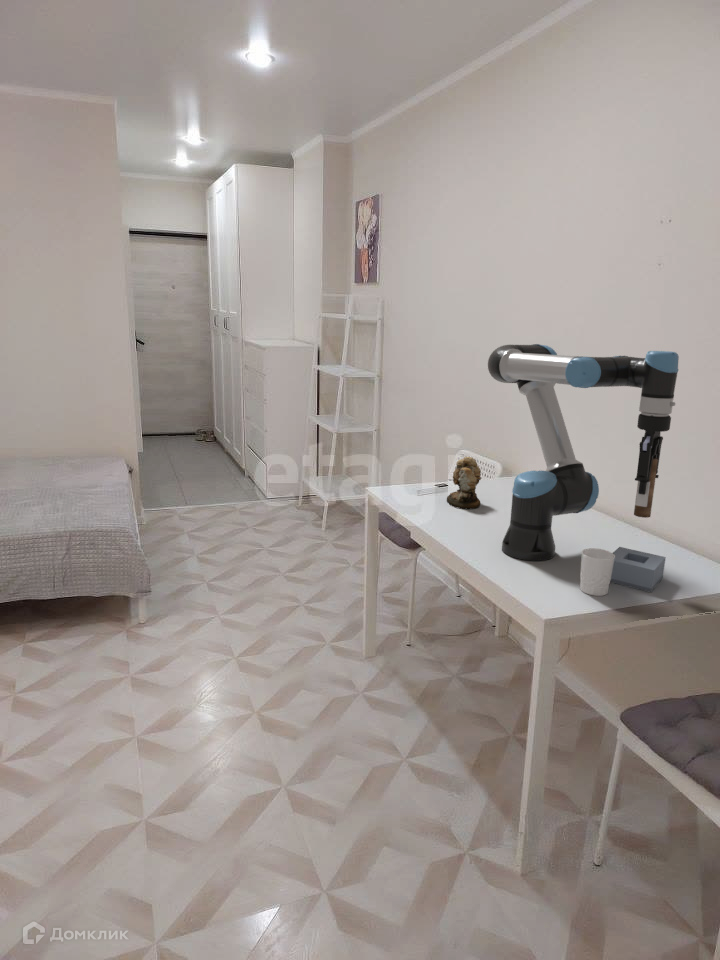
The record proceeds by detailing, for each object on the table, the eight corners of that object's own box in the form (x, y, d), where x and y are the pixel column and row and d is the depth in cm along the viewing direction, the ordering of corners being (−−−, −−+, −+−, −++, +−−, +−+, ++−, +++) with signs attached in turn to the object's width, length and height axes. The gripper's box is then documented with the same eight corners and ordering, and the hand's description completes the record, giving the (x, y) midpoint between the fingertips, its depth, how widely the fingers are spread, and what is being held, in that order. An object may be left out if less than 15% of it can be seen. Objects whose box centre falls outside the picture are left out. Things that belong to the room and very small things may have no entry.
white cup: (609, 599, 166) (614, 561, 163) (576, 593, 168) (580, 556, 166) (610, 587, 173) (615, 551, 170) (578, 582, 175) (582, 546, 173)
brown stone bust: (441, 495, 252) (444, 451, 248) (472, 495, 254) (475, 451, 249) (452, 509, 235) (455, 462, 231) (485, 509, 236) (489, 462, 232)
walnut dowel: (631, 515, 174) (639, 458, 170) (636, 512, 177) (643, 456, 173) (648, 518, 171) (655, 461, 168) (652, 515, 175) (659, 458, 171)
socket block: (603, 580, 177) (606, 558, 176) (616, 567, 187) (619, 546, 185) (651, 592, 170) (654, 570, 169) (662, 578, 180) (665, 557, 178)
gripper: (662, 419, 159) (650, 514, 165) (678, 412, 172) (666, 499, 178) (630, 416, 163) (619, 508, 169) (648, 409, 177) (637, 494, 182)
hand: (643, 503), depth 173 cm, fingers closed on walnut dowel, 4 cm apart
